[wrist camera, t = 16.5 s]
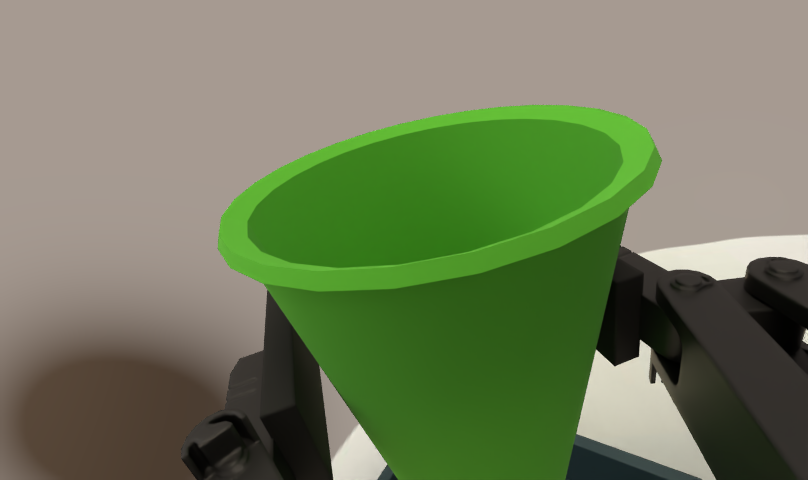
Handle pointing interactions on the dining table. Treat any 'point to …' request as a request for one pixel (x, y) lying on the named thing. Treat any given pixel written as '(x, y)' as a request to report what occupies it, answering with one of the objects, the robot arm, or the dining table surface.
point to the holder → (603, 465)
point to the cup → (453, 277)
